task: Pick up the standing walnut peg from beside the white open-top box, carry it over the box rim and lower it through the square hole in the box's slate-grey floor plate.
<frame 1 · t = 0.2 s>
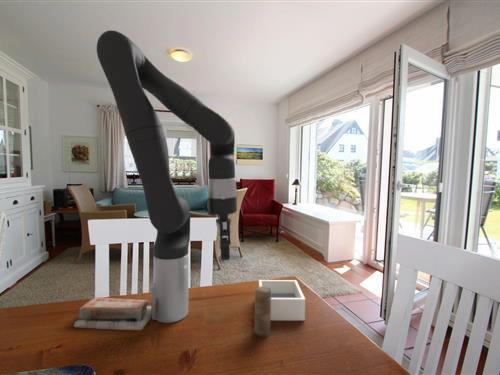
hand: (224, 254, 71), 18 cm above the table, tool pointing down, fingers open, 8 cm apart
packaged product: (117, 320, 71), on the table
peg: (262, 332, 66), on the table
open box: (279, 308, 77), on the table
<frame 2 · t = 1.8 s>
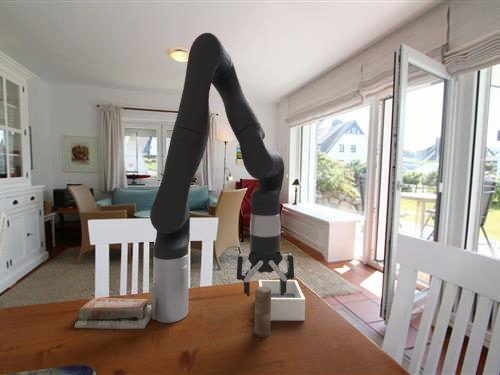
hand: (265, 294, 66), 10 cm above the table, tool pointing down, fingers open, 8 cm apart
nothing on the table moved.
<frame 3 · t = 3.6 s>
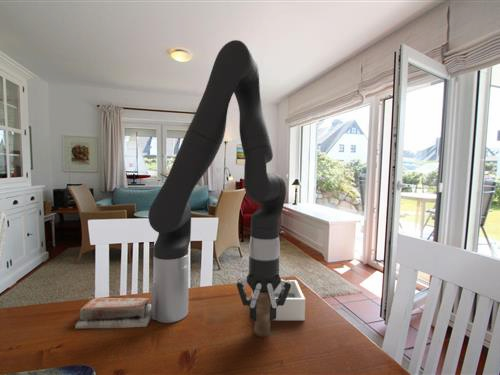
hand: (262, 319, 66), 3 cm above the table, tool pointing down, fingers closed on peg, 4 cm apart
peg: (262, 331, 66), on the table, touching gripper
everything else where it was.
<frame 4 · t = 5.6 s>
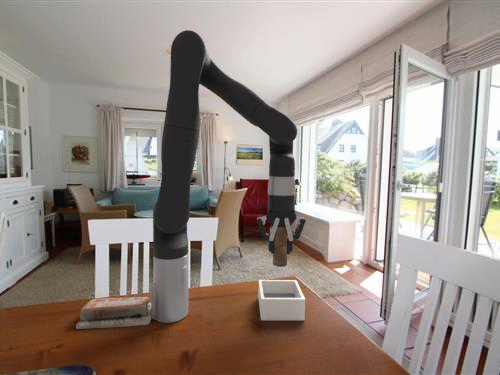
hand: (280, 252, 74), 18 cm above the table, tool pointing down, fingers closed on peg, 4 cm apart
peg: (279, 264, 74), point 14 cm above the table, touching gripper
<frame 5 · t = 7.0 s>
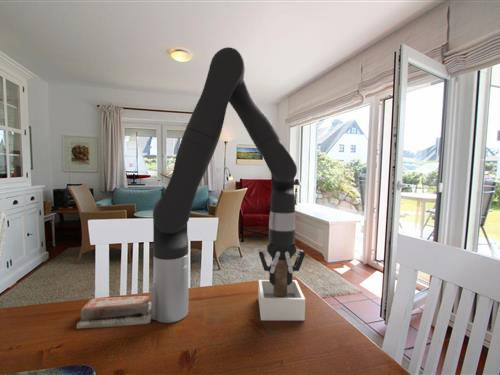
hand: (280, 283, 77), 7 cm above the table, tool pointing down, fingers closed on peg, 4 cm apart
peg: (280, 294, 77), point 4 cm above the table, touching gripper
when the fingers open (5 cm above the table, at t = 7.9 s): peg drops 1 cm, resting in open box.
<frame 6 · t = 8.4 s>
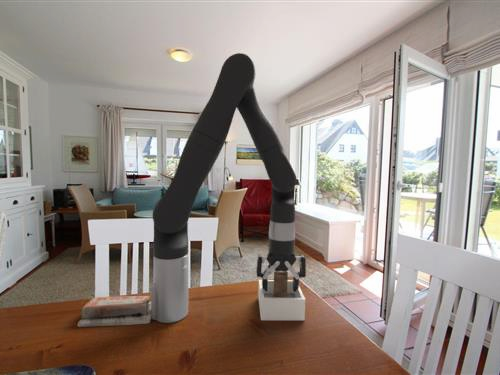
hand: (280, 290, 77), 6 cm above the table, tool pointing down, fingers open, 8 cm apart
peg: (279, 308, 77), resting in open box
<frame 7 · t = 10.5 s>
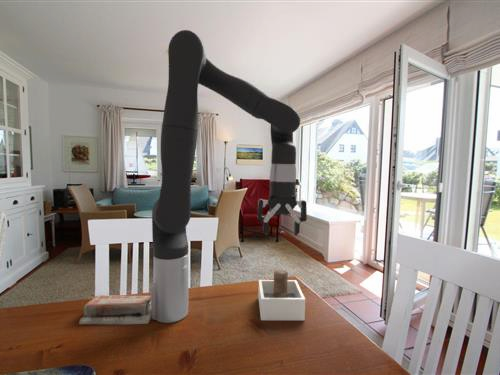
hand: (280, 234, 77), 22 cm above the table, tool pointing down, fingers open, 8 cm apart
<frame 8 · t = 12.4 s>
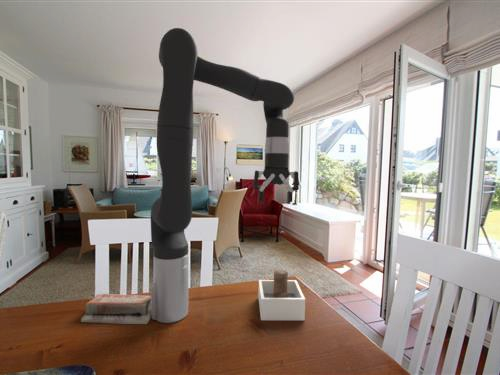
hand: (275, 203, 84), 30 cm above the table, tool pointing down, fingers open, 8 cm apart
at the end: peg 0.1 cm from the open box (horizontally); peg resting in open box; peg tilted 0° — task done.
